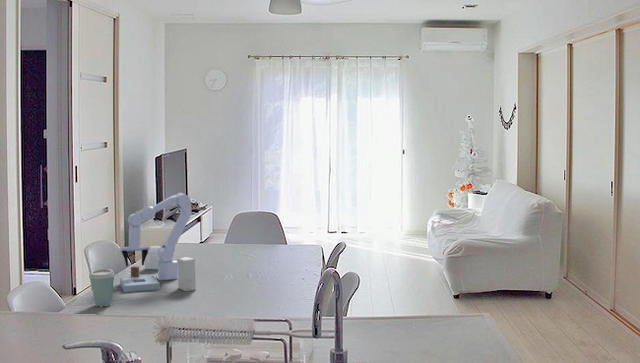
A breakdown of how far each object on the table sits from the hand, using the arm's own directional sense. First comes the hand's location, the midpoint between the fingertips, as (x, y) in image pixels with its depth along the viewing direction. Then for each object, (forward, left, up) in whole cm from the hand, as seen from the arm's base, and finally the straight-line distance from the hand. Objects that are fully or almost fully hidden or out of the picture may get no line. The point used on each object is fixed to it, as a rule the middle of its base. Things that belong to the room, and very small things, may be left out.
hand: (134, 265), depth 336 cm
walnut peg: (0, 0, -8) cm, 8 cm away
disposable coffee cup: (+20, +40, -8) cm, 45 cm away
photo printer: (-14, -24, -8) cm, 29 cm away
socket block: (0, +13, -8) cm, 15 cm away
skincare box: (-20, +25, -8) cm, 33 cm away
